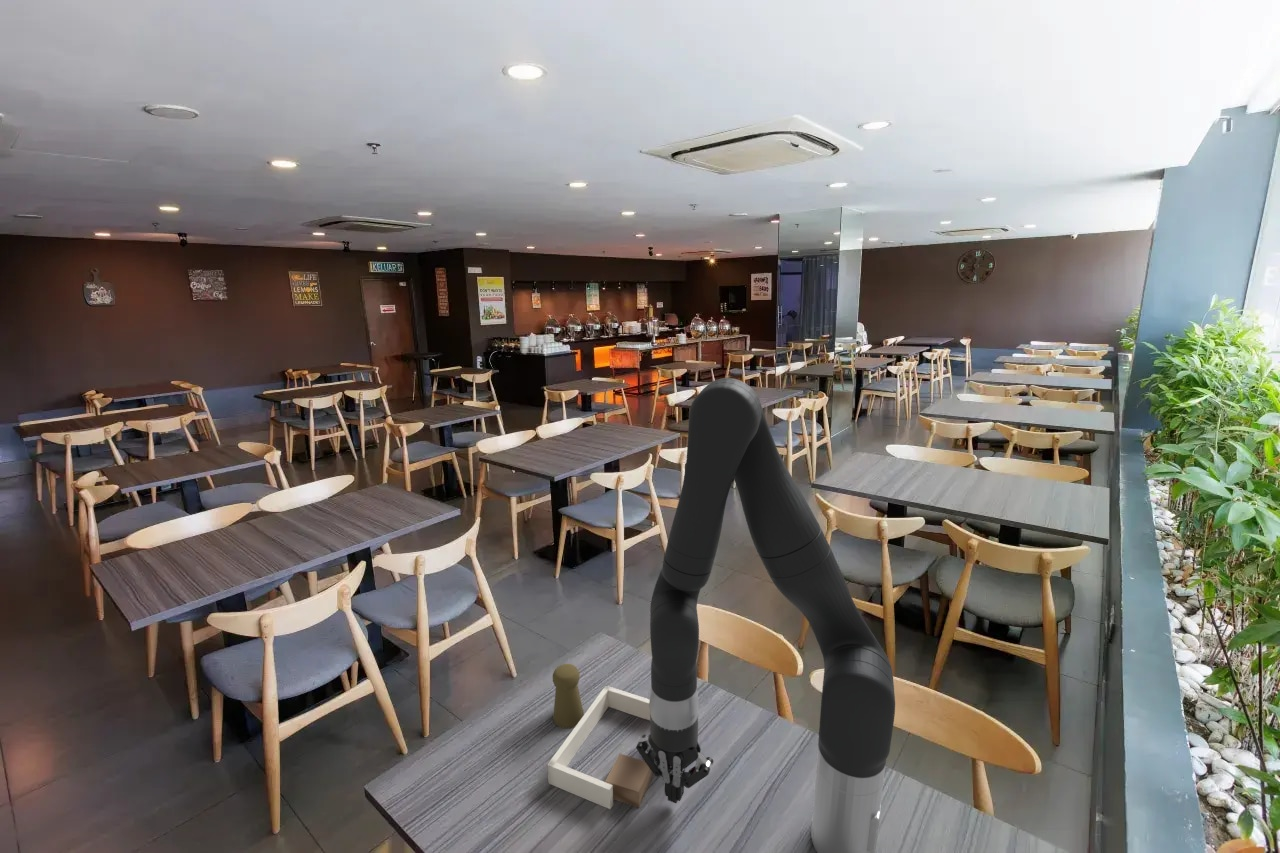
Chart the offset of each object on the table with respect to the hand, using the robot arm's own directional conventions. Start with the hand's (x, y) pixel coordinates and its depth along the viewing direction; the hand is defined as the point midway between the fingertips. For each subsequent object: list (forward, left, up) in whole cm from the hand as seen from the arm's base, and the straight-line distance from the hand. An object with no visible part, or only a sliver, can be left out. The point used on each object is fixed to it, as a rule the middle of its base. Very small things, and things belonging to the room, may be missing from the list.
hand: (674, 797), depth 94 cm
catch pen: (+15, -6, -2) cm, 16 cm away
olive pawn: (+26, -10, -2) cm, 28 cm away
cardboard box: (+8, 0, -2) cm, 8 cm away
